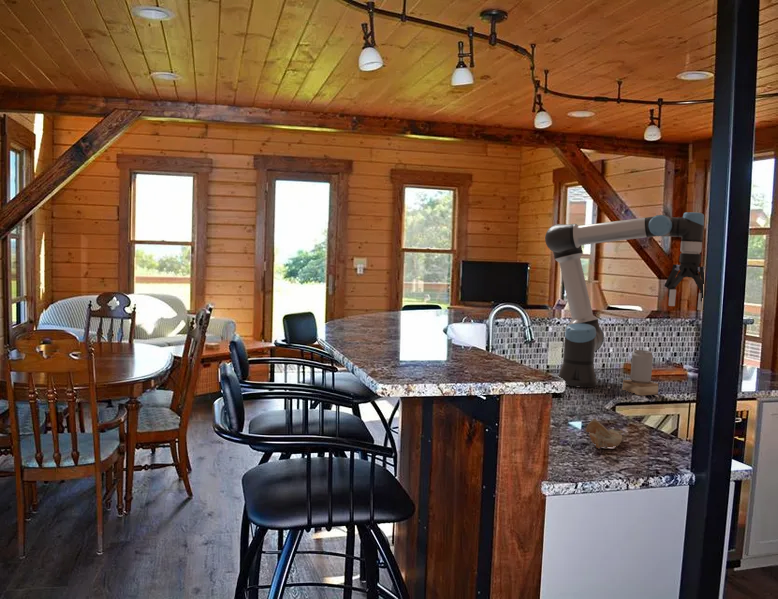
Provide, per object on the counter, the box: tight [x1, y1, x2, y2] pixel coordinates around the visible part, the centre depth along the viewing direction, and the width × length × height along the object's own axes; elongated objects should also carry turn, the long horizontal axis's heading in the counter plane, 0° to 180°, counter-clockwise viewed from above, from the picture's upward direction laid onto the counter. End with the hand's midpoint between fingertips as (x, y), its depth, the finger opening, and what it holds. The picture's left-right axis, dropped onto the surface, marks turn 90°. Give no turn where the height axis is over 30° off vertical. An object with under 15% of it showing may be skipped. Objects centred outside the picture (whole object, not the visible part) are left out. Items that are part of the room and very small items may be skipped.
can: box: [629, 349, 654, 383], centre depth 269 cm, size 8×8×12 cm
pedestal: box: [622, 379, 659, 397], centre depth 270 cm, size 9×9×4 cm
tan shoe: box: [585, 418, 624, 449], centre depth 196 cm, size 9×21×10 cm, turn 144°
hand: (685, 308), depth 272 cm, fingers open, 13 cm apart
